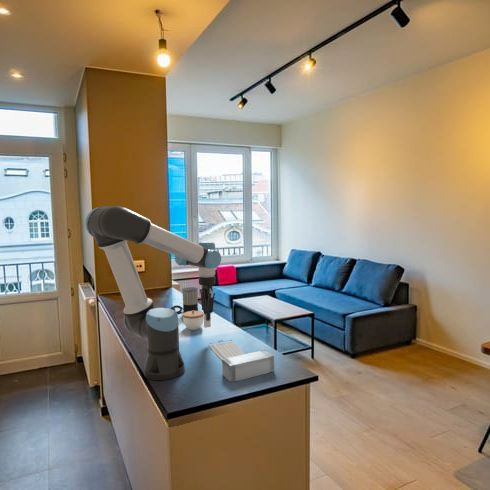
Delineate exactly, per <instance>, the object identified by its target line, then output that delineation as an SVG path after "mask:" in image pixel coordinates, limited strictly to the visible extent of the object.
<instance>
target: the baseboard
mask: <svg viewBox="0 0 490 490" xmlns="http://www.w3.org/2000/svg"><path fill="white" fill-rule="evenodd" d="M232 340H233V339H231V340H229V341H227V342H225V341H223V340H222V339H221V340H218V342H215V343H216V344H212V343H211V342H209V348H210V349H211V350H212V351H213V353H214V354H216V356H217V358H219V359H220V361H222V359H225V358H230V357H234V356H239V355H244V354H246V353H245V352H244V351H243V350H242V349H240V347H239V346H237V345H236V344H235V343H234V342H232ZM230 341H231V342H230ZM220 342H223V343H220ZM217 343H219V344H217ZM211 344H212V345H211Z"/></svg>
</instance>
